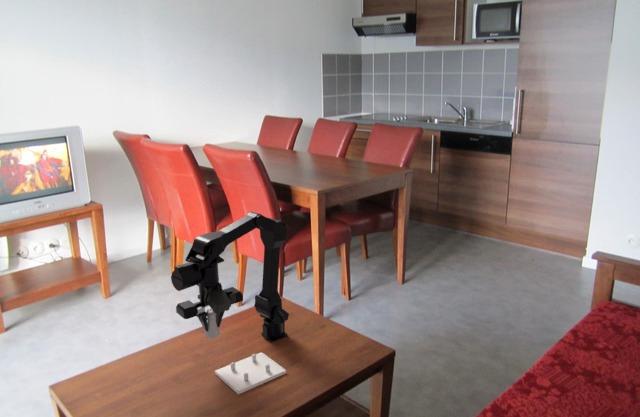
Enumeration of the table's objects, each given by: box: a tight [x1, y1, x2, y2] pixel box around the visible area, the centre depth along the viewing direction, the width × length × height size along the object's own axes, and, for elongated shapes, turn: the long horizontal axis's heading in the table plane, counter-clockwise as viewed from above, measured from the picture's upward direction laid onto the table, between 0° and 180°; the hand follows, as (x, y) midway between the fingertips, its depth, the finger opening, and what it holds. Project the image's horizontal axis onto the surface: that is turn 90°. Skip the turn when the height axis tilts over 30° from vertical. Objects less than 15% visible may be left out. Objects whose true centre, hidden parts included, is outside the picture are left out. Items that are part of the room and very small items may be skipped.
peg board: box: [214, 352, 287, 395], centre depth 157 cm, size 16×13×3 cm
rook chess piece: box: [204, 308, 221, 340], centre depth 158 cm, size 4×4×8 cm
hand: (212, 329), depth 158 cm, fingers closed on rook chess piece, 3 cm apart
